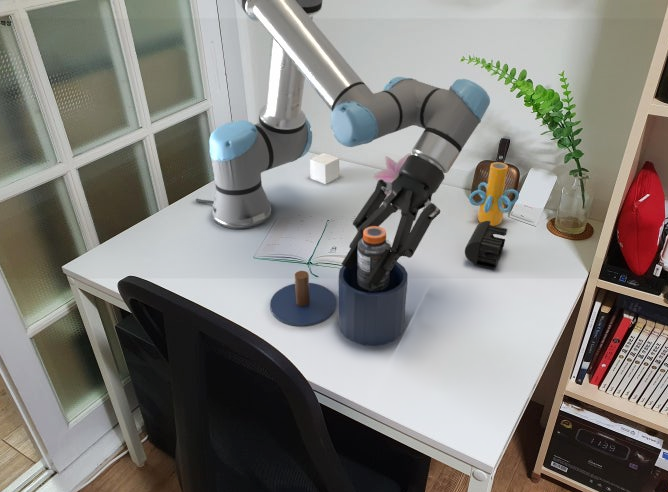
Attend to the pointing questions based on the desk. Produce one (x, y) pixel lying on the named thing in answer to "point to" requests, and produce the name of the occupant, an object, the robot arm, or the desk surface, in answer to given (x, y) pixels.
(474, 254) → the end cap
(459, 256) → the desk surface
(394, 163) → the lily
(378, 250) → the pill bottle
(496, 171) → the yellow tubular piece
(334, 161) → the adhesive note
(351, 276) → the canister
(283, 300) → the lid
